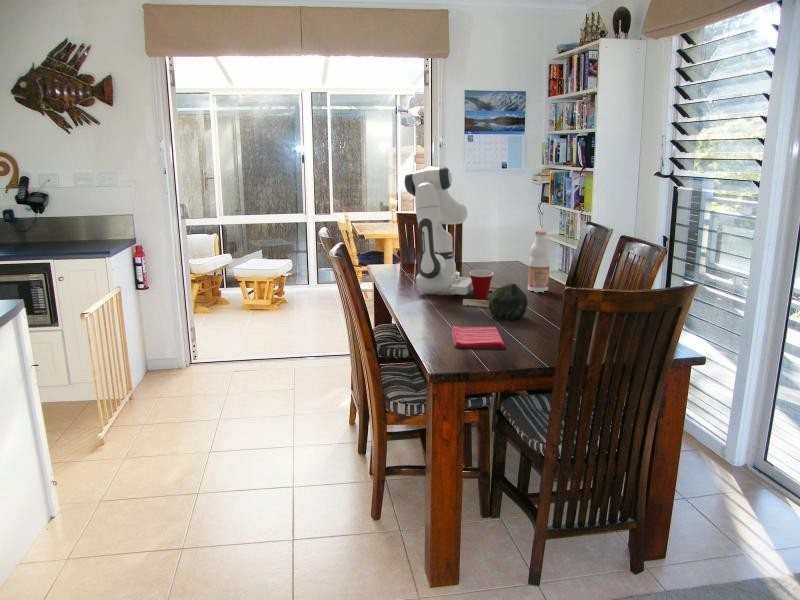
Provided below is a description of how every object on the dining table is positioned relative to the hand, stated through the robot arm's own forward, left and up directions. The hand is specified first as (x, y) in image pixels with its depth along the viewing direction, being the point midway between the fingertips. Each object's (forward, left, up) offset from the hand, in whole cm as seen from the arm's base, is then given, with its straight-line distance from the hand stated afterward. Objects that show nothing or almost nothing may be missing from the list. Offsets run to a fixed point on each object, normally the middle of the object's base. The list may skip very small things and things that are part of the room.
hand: (481, 287), depth 285 cm
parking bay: (0, +4, -5) cm, 6 cm away
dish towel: (+63, +10, -6) cm, 64 cm away
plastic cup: (0, 0, -5) cm, 5 cm away
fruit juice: (-24, +23, -5) cm, 33 cm away
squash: (+31, +17, -5) cm, 35 cm away
